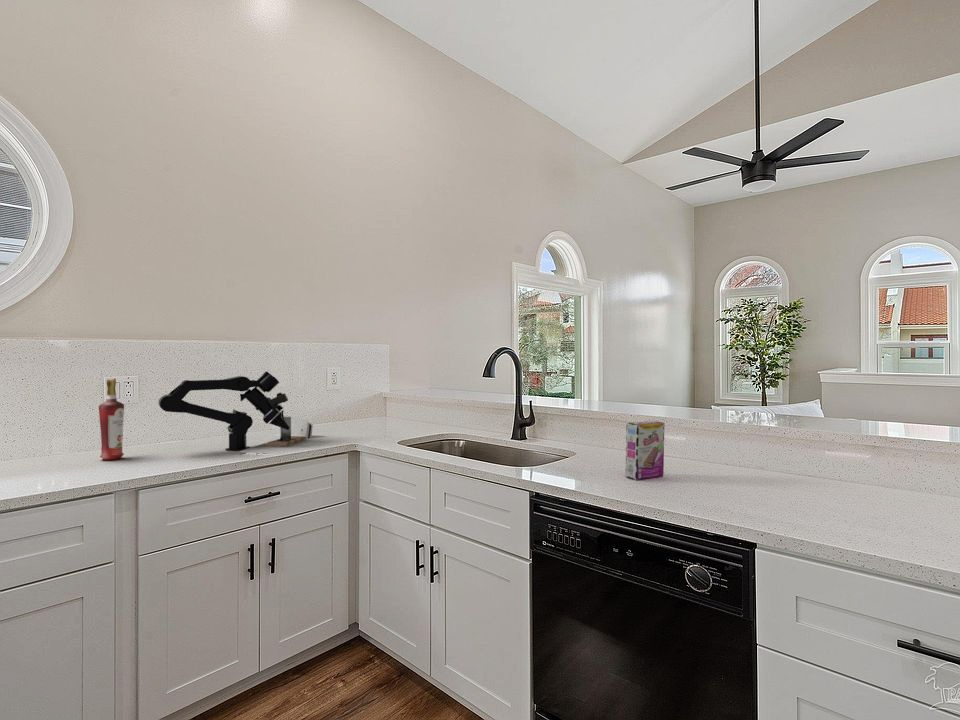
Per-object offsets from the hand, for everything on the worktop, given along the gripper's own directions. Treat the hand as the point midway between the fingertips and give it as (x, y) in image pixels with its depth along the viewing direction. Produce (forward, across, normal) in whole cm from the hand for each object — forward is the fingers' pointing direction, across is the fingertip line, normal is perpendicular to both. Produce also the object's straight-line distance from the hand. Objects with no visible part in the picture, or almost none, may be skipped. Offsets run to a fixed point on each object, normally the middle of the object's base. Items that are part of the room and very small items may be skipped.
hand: (289, 428), depth 210 cm
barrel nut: (+3, 0, +5) cm, 6 cm away
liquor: (-35, -11, +46) cm, 59 cm away
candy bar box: (+80, -84, -71) cm, 136 cm away
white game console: (+6, +17, +5) cm, 19 cm away
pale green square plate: (+12, -4, -2) cm, 12 cm away
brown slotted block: (+4, +1, +6) cm, 7 cm away
